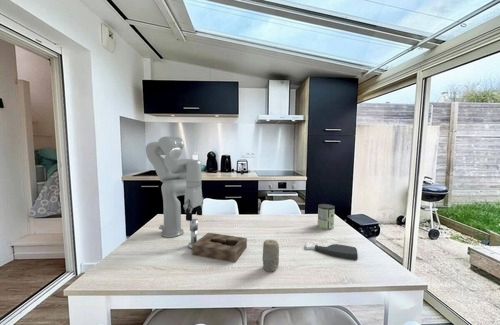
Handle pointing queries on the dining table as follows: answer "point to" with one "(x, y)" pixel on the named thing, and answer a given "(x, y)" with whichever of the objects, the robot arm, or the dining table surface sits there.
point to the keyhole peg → (193, 232)
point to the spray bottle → (335, 250)
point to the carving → (270, 255)
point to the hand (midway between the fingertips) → (194, 217)
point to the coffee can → (326, 216)
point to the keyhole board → (220, 247)
